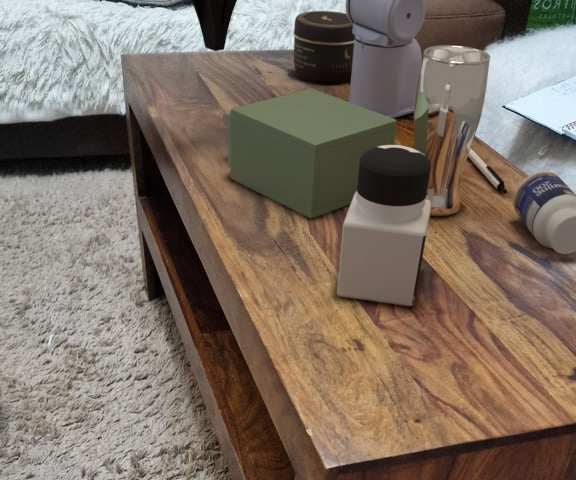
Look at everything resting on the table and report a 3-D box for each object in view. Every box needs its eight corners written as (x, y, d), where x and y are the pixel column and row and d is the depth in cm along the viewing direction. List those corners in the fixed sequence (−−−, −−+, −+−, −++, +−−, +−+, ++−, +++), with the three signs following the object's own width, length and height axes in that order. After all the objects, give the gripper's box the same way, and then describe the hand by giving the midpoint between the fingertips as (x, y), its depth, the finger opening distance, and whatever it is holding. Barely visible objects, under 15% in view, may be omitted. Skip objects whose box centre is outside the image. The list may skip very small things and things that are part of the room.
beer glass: (471, 201, 87) (501, 51, 77) (451, 223, 83) (480, 67, 72) (414, 188, 90) (435, 41, 79) (391, 209, 85) (411, 55, 75)
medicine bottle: (413, 308, 70) (436, 173, 62) (335, 297, 71) (348, 163, 62) (419, 272, 75) (442, 143, 67) (347, 262, 76) (360, 133, 67)
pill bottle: (567, 168, 81) (605, 207, 74) (554, 218, 85) (589, 259, 78) (518, 169, 81) (552, 209, 74) (507, 219, 84) (538, 261, 78)
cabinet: (231, 179, 89) (230, 108, 84) (308, 155, 95) (312, 87, 90) (311, 218, 83) (315, 144, 77) (388, 190, 89) (397, 120, 83)
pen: (500, 195, 89) (503, 186, 88) (447, 136, 102) (449, 127, 101) (508, 195, 89) (510, 185, 88) (454, 136, 102) (455, 127, 101)
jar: (322, 89, 114) (326, 30, 109) (278, 72, 119) (280, 15, 114) (369, 78, 119) (375, 21, 114) (325, 62, 124) (329, 7, 119)
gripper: (239, -108, 86) (240, 31, 96) (131, -100, 79) (143, 49, 89) (281, -99, 83) (277, 45, 92) (172, -90, 75) (180, 64, 85)
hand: (214, 48), depth 90 cm, fingers closed
